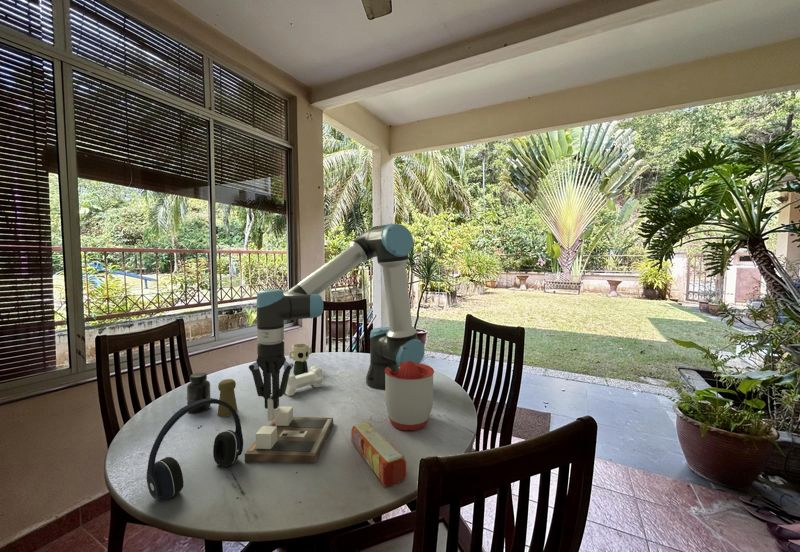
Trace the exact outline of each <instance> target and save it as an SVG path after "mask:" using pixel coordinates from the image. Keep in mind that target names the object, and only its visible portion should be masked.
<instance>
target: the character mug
mask: <svg viewBox="0 0 800 552" xmlns="http://www.w3.org/2000/svg"><path fill="white" fill-rule="evenodd" d="M311 354H312V347H310V346H309V343H304V342H303V343H295V344H292V346H291V350H290V351H289V352H288V359H292V360H293V361H294V364H293V371H292V373H293V375H295V376H297V375H301V374H304V373H308V372H309V369H308V368H309V367H308V362H307V360H308V359H309V357H310V355H311Z"/></svg>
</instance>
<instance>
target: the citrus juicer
mask: <svg viewBox="0 0 800 552" xmlns="http://www.w3.org/2000/svg"><path fill="white" fill-rule="evenodd" d="M434 373H435V370H434V368H433V367H432V366H430V365H428V364H424V363H421V362H420V363H413V362H412V361H410V360H408V361H407V362H404V363H400V367H399V371H396V372H391V369H390V368H389V367H386V368H385V389H384V393H385V394H384V396H385V397H384V398H385V406H386V412H387V415H388V416H387V417H388V419H389V421H390V424H391V426H393V427H395V428H397V429H399V430H403V431H407V430H412V431H417V430H420V429H422V428H425V427H426V425H427V424H428V422H429V419H430V417H431V412H432V408H433V401H434Z"/></svg>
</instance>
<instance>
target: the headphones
mask: <svg viewBox="0 0 800 552" xmlns="http://www.w3.org/2000/svg"><path fill="white" fill-rule="evenodd" d="M207 404H211V405H213V404H214V405H215V404H216V405H219V404H220V405H222V406H224V407H226V408H227V409H229V411H230V412H231V413H232V415H231V416H232V417H233V420H234V425H235V427H234V429H235V430H232V429H228V430H225V431H221V432H219V433H218V434H217V435H216V436H215V438H214V442H213V449H212V453H213V454H212V455H213V459H214V462H215V464H216V465H218V466H220V467H228V466H231V465H234V464H235V463H237V461H238V458H239V456H241V455H242V454H243V451H244V437H243V431H242V423H241V420H240V417H239V414H238V412H236V411H235V410H234V409H233V407H232V406H230V405H229V404H227V403H226V402H223V401H221V400H219V399H218V398H212V397H210V398H208V399H202V400H199V401H196V402H193V403H191V404H188V405H184V406H183V407H182V408H180V409H179V410H177V411H176V412H175V413H174V414H173V415H172V416H171V417H170V418H169V419H168V420H167V421H166V423H165V424H164V425H163V427H162V428H161V429H160V431H159V433H158V435H157V437H156V438H155V440H154V442H153V445H152V447H151V450H150V453H149V456H148V462H147V469H146V484H147V488H148V492H149V494H150V495H151V496H152V498H153V499H154V500H158V499H159V498H162V499H166V500H170V499H171V498H173V497H174V496H176V495H178V494H179V493H181V491H182V490H183V488H184V476H183V472H182V468H181V466H180V463H179V462H178V461H177V459H175V457H172V456H166V457H165V458H161V459H160V460H157V461H156V459H157V454H158V452H159V449H160V446H161V444H162V442H163V440H164V438H165V436H166V435H167V434H168V433H169V431H170V430H171V428H172V427H173V426H174V425H175V424H176V423H177V422H178V420H180V419H181V418H182V417H183V416H185V415H186V414H187V413H190V412H189V411H191V410H193V409H195V408H198V407H200V406H203V405H207Z"/></svg>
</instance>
